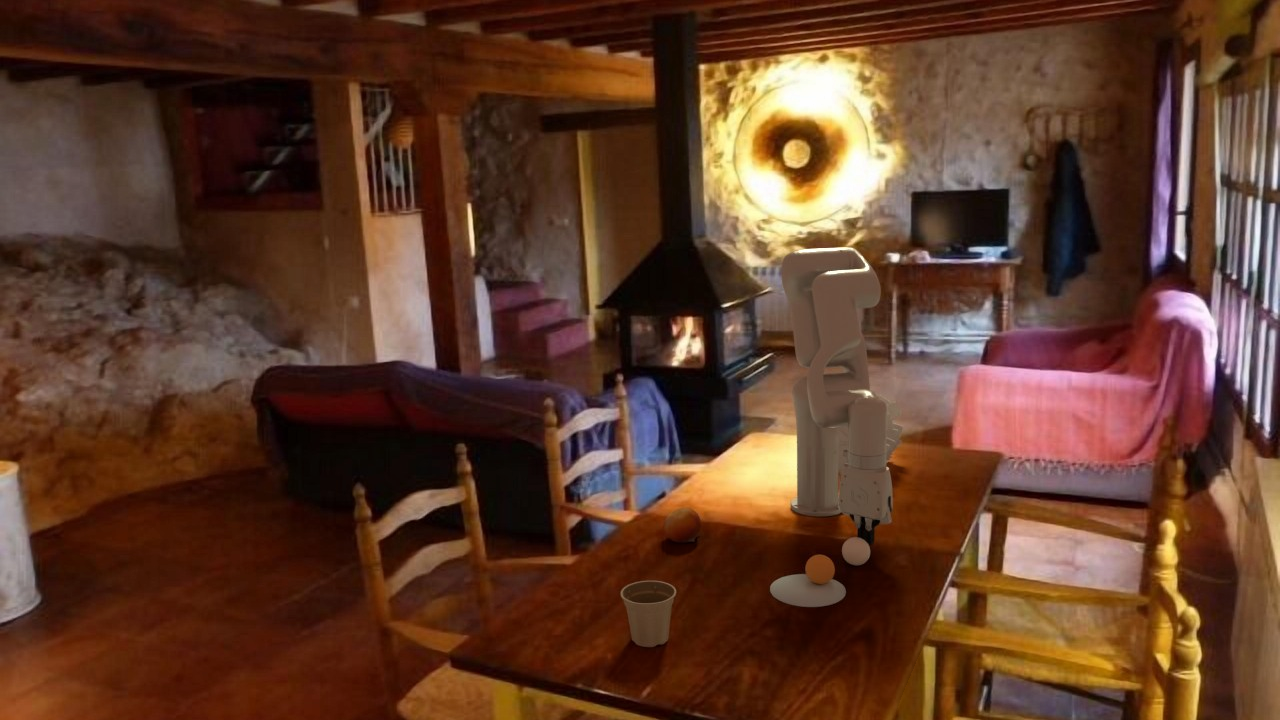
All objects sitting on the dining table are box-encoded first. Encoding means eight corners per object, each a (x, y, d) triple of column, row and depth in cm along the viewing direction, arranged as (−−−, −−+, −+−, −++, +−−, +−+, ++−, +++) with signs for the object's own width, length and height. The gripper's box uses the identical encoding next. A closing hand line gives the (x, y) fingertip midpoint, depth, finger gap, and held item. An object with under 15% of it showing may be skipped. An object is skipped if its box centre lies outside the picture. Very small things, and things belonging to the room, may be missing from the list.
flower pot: (620, 628, 167) (618, 582, 165) (674, 624, 167) (672, 578, 166) (624, 654, 158) (622, 605, 156) (681, 650, 158) (679, 601, 157)
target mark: (776, 572, 187) (776, 571, 187) (849, 578, 183) (849, 577, 183) (764, 602, 174) (764, 601, 174) (842, 610, 170) (842, 609, 170)
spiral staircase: (837, 494, 243) (857, 462, 265) (901, 472, 234) (917, 440, 256) (805, 430, 242) (829, 403, 264) (869, 406, 234) (887, 380, 256)
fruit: (707, 540, 201) (686, 509, 201) (676, 557, 203) (655, 526, 203) (711, 526, 209) (692, 496, 208) (681, 543, 211) (662, 513, 210)
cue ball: (839, 533, 190) (833, 558, 190) (859, 543, 185) (852, 570, 186) (859, 532, 193) (853, 558, 193) (879, 543, 188) (872, 569, 189)
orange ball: (805, 548, 184) (795, 575, 182) (823, 550, 179) (813, 577, 177) (826, 561, 186) (816, 587, 184) (844, 563, 181) (834, 590, 179)
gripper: (824, 457, 193) (824, 543, 197) (892, 471, 183) (890, 561, 187) (843, 449, 199) (843, 532, 202) (910, 461, 189) (908, 549, 192)
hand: (865, 545), depth 195 cm, fingers closed
